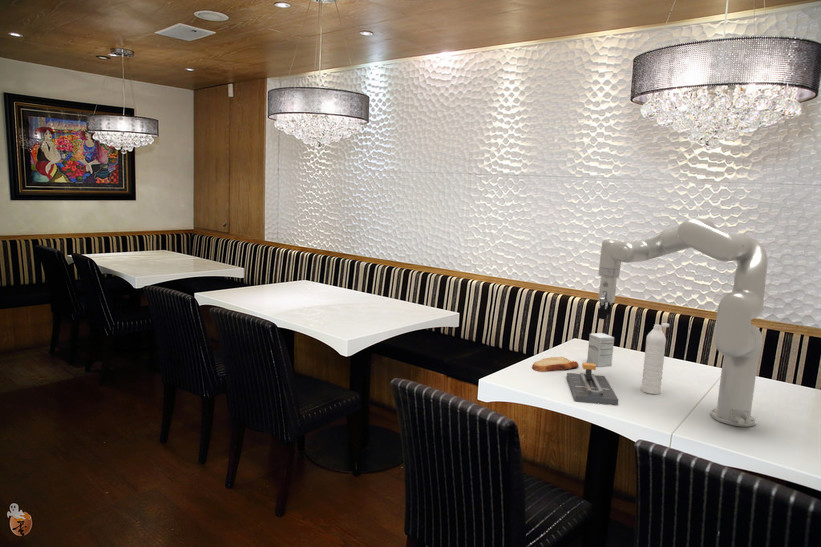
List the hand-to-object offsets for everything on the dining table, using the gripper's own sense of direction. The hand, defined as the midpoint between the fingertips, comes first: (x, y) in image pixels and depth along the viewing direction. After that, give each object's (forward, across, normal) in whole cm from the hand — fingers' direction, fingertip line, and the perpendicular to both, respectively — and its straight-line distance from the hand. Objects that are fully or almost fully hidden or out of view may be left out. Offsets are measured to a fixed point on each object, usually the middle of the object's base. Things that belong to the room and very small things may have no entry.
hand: (603, 316), depth 215 cm
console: (+24, -17, -1) cm, 30 cm away
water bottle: (+24, -4, -21) cm, 32 cm away
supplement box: (+25, +20, +2) cm, 32 cm away
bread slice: (+26, +4, +17) cm, 31 cm away
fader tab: (+22, -10, +2) cm, 25 cm away
